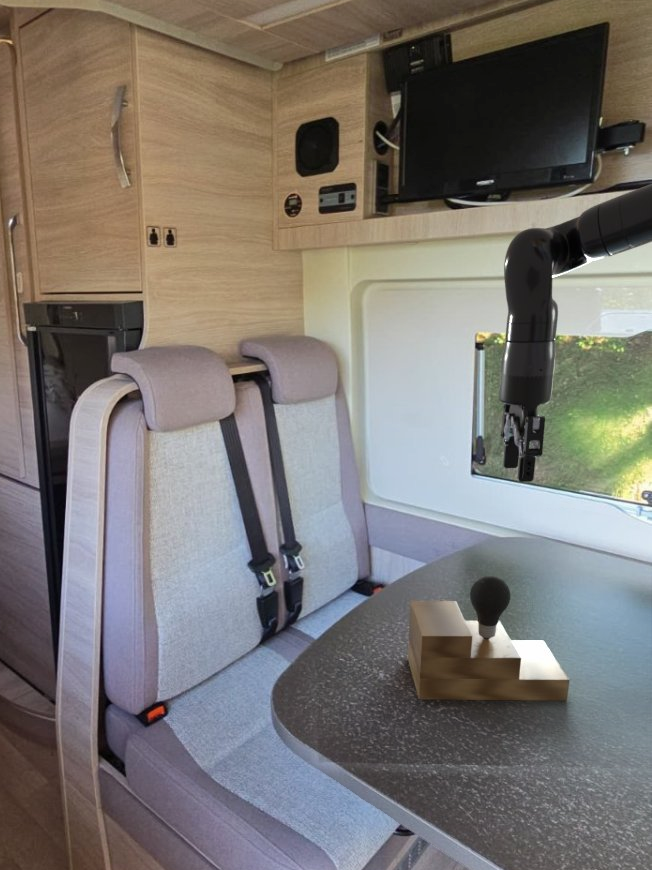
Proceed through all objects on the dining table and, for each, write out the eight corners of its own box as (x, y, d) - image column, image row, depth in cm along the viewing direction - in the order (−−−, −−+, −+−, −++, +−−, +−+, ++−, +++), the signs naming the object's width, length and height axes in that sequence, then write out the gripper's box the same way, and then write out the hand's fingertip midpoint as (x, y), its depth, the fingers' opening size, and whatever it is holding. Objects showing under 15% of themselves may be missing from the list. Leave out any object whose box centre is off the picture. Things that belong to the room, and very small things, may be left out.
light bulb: (485, 650, 105) (490, 588, 101) (458, 634, 110) (463, 574, 106) (514, 641, 107) (520, 580, 103) (487, 626, 112) (492, 567, 108)
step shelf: (541, 659, 115) (548, 600, 112) (566, 701, 104) (575, 636, 100) (407, 659, 118) (410, 600, 114) (418, 699, 106) (422, 636, 103)
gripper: (568, 376, 102) (556, 485, 108) (538, 364, 116) (528, 462, 121) (514, 378, 103) (504, 486, 109) (490, 366, 117) (482, 463, 122)
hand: (517, 474), depth 115 cm, fingers open, 8 cm apart
